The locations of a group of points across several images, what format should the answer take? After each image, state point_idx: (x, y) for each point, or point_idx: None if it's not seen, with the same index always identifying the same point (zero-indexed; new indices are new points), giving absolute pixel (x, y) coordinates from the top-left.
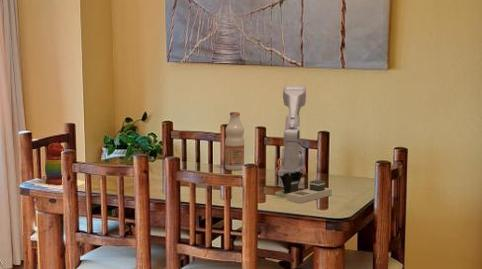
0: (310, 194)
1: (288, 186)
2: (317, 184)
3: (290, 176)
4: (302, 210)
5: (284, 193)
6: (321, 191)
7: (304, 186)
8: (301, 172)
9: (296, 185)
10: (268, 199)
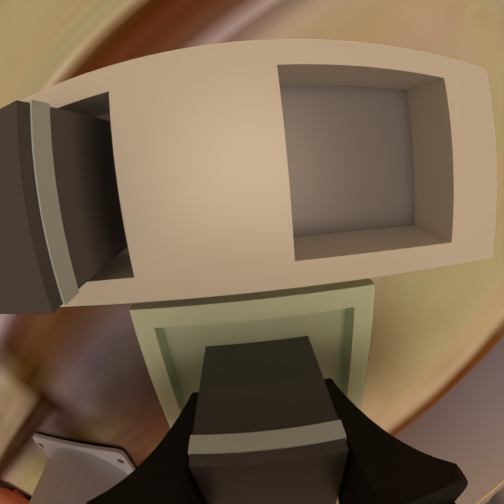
0: (327, 40)
1: (359, 412)
2: (38, 122)
3: (443, 489)
4: (493, 7)
5: (351, 383)
6: (75, 81)
7: (36, 436)
8: (5, 497)
9: (229, 413)
10: (452, 362)
